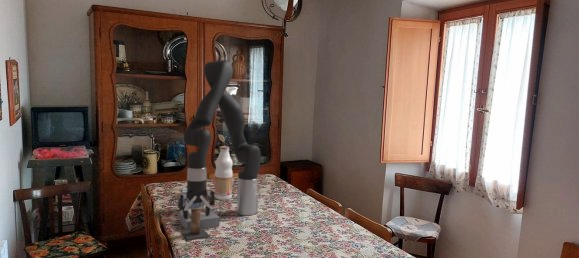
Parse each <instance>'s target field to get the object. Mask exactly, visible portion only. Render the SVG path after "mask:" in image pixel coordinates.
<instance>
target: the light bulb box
mask: <svg viewBox="0 0 579 258" xmlns="http://www.w3.org/2000/svg"><path fill="white" fill-rule="evenodd" d="M186 193H187V187H182V190H181V194H186ZM187 199H188V198H187V197H185V199H184V200H183V206H184V204H185V202H186V201H187ZM203 207H205V204H204V202H201V203H196V204H193V203H192V204H191V206H189V208H188V209H193V208H203ZM180 211H183V210H180Z"/></svg>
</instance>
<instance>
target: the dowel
mask: <svg viewBox="0 0 579 258" xmlns="http://www.w3.org/2000/svg"><path fill="white" fill-rule="evenodd" d="M191 234H192V235H198V234H200V209H199V208H193V209H191Z"/></svg>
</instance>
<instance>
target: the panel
mask: <svg viewBox="0 0 579 258" xmlns="http://www.w3.org/2000/svg"><path fill="white" fill-rule="evenodd" d="M199 209H200V211H202V212H203V213H200V228H203V229H204V230H205V229H211V228H216V227H220V217H221V216H219V215H218V214H216V212H215V211H213V210H212V209H211V208H210V214H209V216H206V215H205V206H204V207H203V208H199ZM187 210H188V219H185V218H184V217H183V211H181V210H180V211H179V210H178V221H179V222H180V224H181V225H182V227H183V228H184V229H185V231H186V230H191V209H187Z"/></svg>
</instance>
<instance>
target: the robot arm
mask: <svg viewBox="0 0 579 258" xmlns="http://www.w3.org/2000/svg"><path fill="white" fill-rule="evenodd" d="M203 72H204V76H205V77H204V78H205V79H206V82H207V84H208V85H209V88H210V90H209V91H208V92H207V93H206V94H205V95H204V97H203V98H202V99H201V101H200V103H199V104H198V107H197V110H196V112H195V115H194V117H193V118H192V120H191V121H190V122H189V124H188V126H187V127H186V128H185V130H184V133H183V142H184V144H186V145H187V146H190V147H198V148H197V150H196V151H192V152H189V153H188V155H187V171H186V173H187V174H186V188H187V193H186V194H182V192H180V193H178V200H177V201H178V202H177V207H178V209H179V210H180V211H181V210H183V217H184V218H185V219H188V210H187V209H188V208H189V206H191V204H192V203H193V204H196V203H201V202H204V207H205V215H206V216H209V214H210V209H211V207H212V206H215V205H216V204H215V199H216V198H215V196H214V191H215V190H212V189H210V190H208V191H207V180H208V179H207V177H208V175H207V171H208V170H207V156H208V151H209V147H210V145H211V140H212V135H211V133H210V131H209V130H208V129H206V128H205V127H209V126H211V125H212V123H213V120H214V117H215V113H216V110H217V108H219V110H220V114H221V116H222V118H223V121H224V124H225V127H226V129H227V132H228V134H229V138H230V139H231V140H230V141H231V144H232V148H233V151H234V155H235V159H236V160H237V161H238V162H240V163H242V164H244V168H243V169H241V170H239V171H238V173H237V179H238V180H237V195H236V196H237V198H236V200H237V201H236V203H237V204H236V214H238V215H240V216H253V215H255V214H258V213H259V212H258V211H259V193H258V176H259V172H260V170H261V169H260V167H261V150H260V148H259V146H257V145H255V144H248V142H247V140H246V137H245V135H244V128H245V121H246V119H245V115H244V112H243V109H242V107H241V104H240V103H239V101H237V100H236V99H235V98H234V97H233V96H232V95H231V94H230V93H229V92H228V91H227V87H228V85H229V84H230V82H231V79H232V77H233V72H234V68H233V66H232V63H231V62H230V61H229V60H225V59H223V60H215V61H209V62H207V63H205V65H204V68H203ZM207 196H209V201H207V199H206V197H207ZM185 197H187V198H188V199H187V201H186V202H185V204H184V206H183V200H184V199H185Z"/></svg>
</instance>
